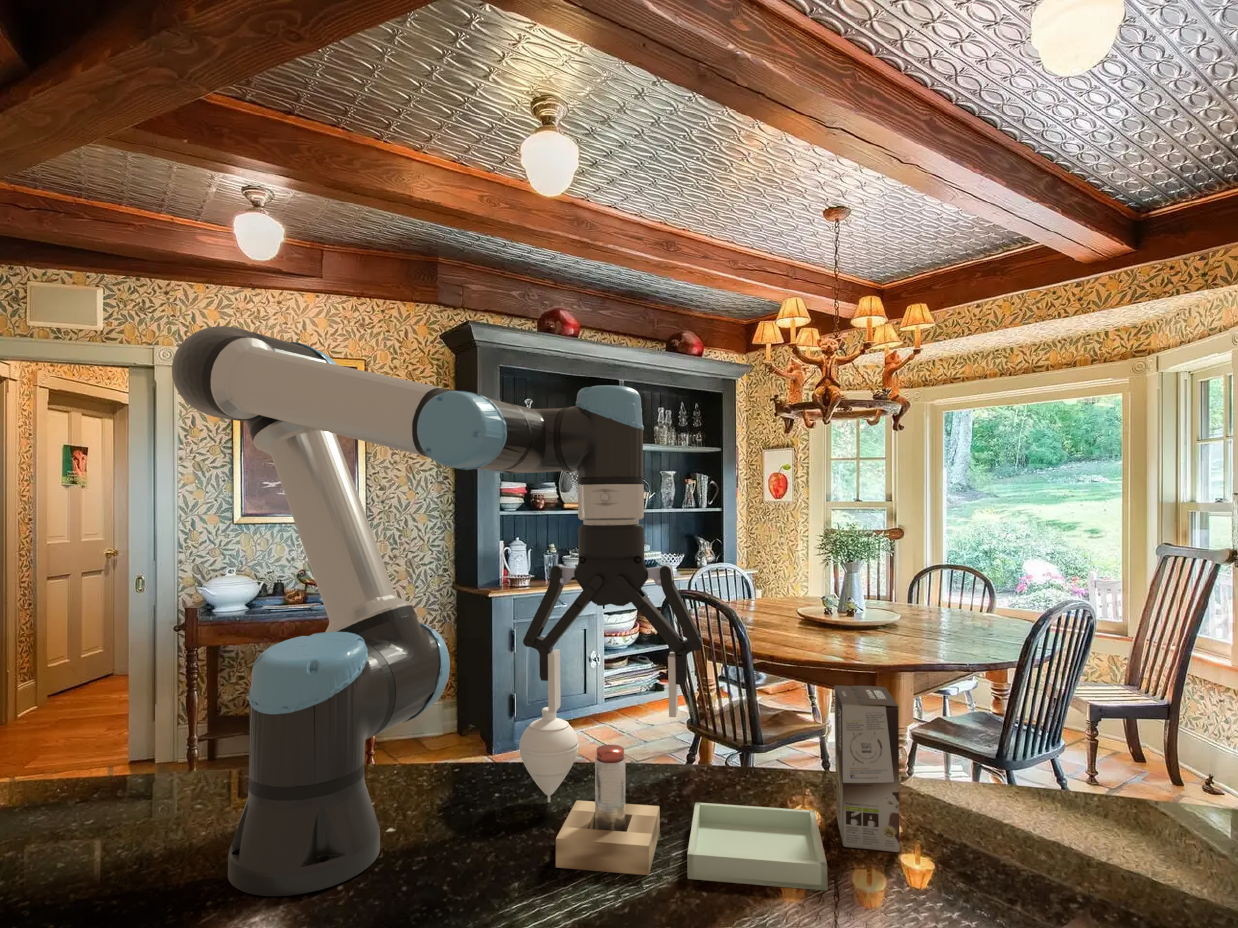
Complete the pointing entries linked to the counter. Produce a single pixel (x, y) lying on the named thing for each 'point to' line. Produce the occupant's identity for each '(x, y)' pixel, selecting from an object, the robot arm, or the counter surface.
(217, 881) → the counter surface
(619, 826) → the pin
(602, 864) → the block
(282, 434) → the robot arm
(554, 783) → the spinning top
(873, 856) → the counter surface
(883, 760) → the coffee box
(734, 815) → the tray
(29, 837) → the counter surface
